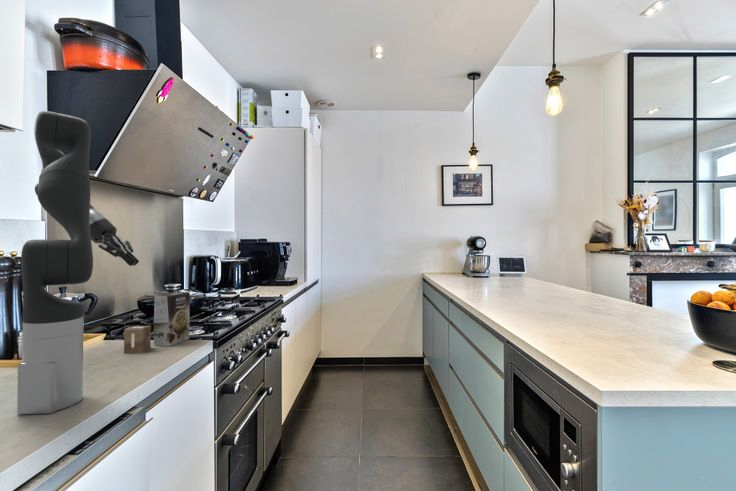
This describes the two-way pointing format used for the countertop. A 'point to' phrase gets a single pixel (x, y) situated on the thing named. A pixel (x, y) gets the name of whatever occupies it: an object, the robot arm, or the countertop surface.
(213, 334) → the countertop surface
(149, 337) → the numbered block
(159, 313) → the coffee box
